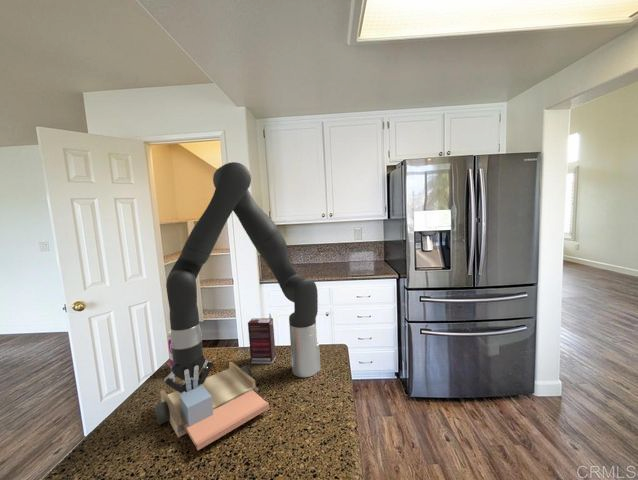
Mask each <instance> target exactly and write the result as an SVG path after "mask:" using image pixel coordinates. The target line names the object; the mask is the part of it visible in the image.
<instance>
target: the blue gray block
mask: <svg viewBox="0 0 638 480" xmlns="http://www.w3.org/2000/svg"><path fill="white" fill-rule="evenodd" d="M179 397H180V407H181V414H182V415H183V417H184V419H185V420H186V422H187V424H188V426H189V427H190V426H192V425H194V424H196V423H198V422H200V421H202V420H204V419H205V418H207V417H209V416H211V415H213V405H212V396H211V395H210V394H209V392H208V391H207V390H206V389H205V388H204V386H203V385H202V386H199V387H198V388H195V389H192V390H191V391H188V392H185V393H183V394H181V395H179Z"/></svg>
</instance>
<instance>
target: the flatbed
mask: <svg viewBox="0 0 638 480" xmlns="http://www.w3.org/2000/svg"><path fill="white" fill-rule="evenodd" d="M202 385H203V386H204V388H205V389H206V390H207V391H208V392H209V394H210V395H211V396H212V405H213V410H214V409H216V408H218V407H220V406H222V405H224V404H226V403H228V402H230V401H232V400H234V399H236V398H238V397H240V396H242V395H243V394H245V393H247V392H249V391H251V390H253V391H254V392H255V393H257V392H258V391H259V388H258V387H257V386H256V379H254V378H253V374H252V371H251V368H250V367H249V366H248V365H244V366H242V367H239V366H238V365H237V364H236V363H235V362H233V361H230V362H228V368H227V369H224V370H222V371H219V372H217V373H215V374H213V375H210V376H207V378H206V380H205V381H204V383H203V384H200V385H199V386H202ZM199 386H198V387H199ZM159 392H160V400H161V402H160V403H158V404H156V405H154V413H155V417H156V422H157V425H158V426H161V425H163V424H165V423H167V422H169V423H170V425H171V427H172V429H173V431H174V432H175V434H176V436H177V438H180V437H182V436H184V435H186V434H188V433H187V431H186V429H185V424H187V422H186V420H185V419H184V417H183V415H182V414H181V407H180V397H179V395H181V394H183V393H185V392H183V393H180V392H178V391H177V390H174V391H172V392H171V393H168V394H167V392H166V390H165V389H162V390H160V391H159Z"/></svg>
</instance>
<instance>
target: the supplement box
mask: <svg viewBox="0 0 638 480" xmlns="http://www.w3.org/2000/svg"><path fill="white" fill-rule="evenodd" d="M247 327H248V328H247V330H248V340H249V341H248V342H249V350H250V351H249V352H250V353H249V354H250V364H270V365H271V364H273V363H274V362H275V360H276V358H277V357H276V355H277V354H276V342H275V329H274V318H272V317H269V318H268V317H267V318H254V317H252V318H251V319H250V320H249V321H248V322H247Z"/></svg>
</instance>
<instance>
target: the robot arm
mask: <svg viewBox="0 0 638 480" xmlns="http://www.w3.org/2000/svg"><path fill="white" fill-rule="evenodd" d="M212 177H213V178H212V182H213V185H214V188H215V189H214V192H213V194H212V197H211V199H210V201H209V203H208V205H207V207H206V209H205V210H204V212H203V213H202V214H201V216H200V218H199V219H198V221H196V224H195V225H194V227H193V228H192V229H191V232H190V234H189V236H188V237H187V239H186V241H185V243H184V245H183V247H182V250H181V253H180V254H179V257H178V258H177V260H176V261H175V263H174V265H173V266H172V268H171V269H170V272H169V274H168V276H167V278H166V284H165V286H166V295H167V301H168V302H167V303H168V306H169V307H168V308H169V322H170V331H171V347H172V357H173V366H172V369H171V368H170V373H169V374H168V375H165V376H164V377H163V381H164V382H165V384H166V385H167V386H169V387H170V388H172V389H174V391H178V392H180V393H183V392H188V391H191V390H192V389H195V388H198V386H199V385H200V384H203V383H204V381H205V380H206V378H208V377H209V374H210V372H211V371H212V368H213V367H214V362H213V361H212V360H210V359H206V357H205V356H204V349H203V334H202V329H201V325H200V315H199V308H198V292H197V291H198V289H197V278H198V275H199V274H200V271H201V270H202V267H203V265H205V264H206V263H207V262H208V260H209V258H210V256H211V254H212V252H213V249H214V248H215V246H216V243H217V241H218V239H219V238H220V235H221V233H222V232H223V229H224V227H225V225H226V223H227V222H228V219H229V218H230V216H231V214H232V212H234V215H235V216H236V217H237V218H238V221H239V222H240V224H241V226H242V228H243V229H244V231H245V233H246V234H247V235H246V236H248V238H249V240H250V241H251V243H252V245H253V247H254V248H255V249H256V251H257V253H258V254H259V255H260V256H261V258H262V259H263V261H264V262H265V264H266V265H267V267H268V268H269V269H270V272H272V274H273V276H274V277H275V279H276V281H277V283H278V285H279V287H280V290H281V291H282V293H283V295H284V297H285V298H286V299H288V300H289V301H290V302H293V304H294V305H293V306H294V307H293V308H294V312H292V313H290V315H289V317H288V323H289V341H290V352H291V353H290V355H291V370H292V374H293V375H294V376H295V377H298V378H310V377H312V376H315V375H316V374H317V373H319V372H321V354H320V352H321V351H320V344H319V342H318V337H317V335H318V332H317V317H318V310H319V309H318V308H319V307H318V305H319V304H318V303H319V301H318V297H319V294H318V287H317V285H316V282H315V281H314V280H313V279H311V278H309V277H305V276H301V275H300V274H299V273H298V271H296V269H295V267H294V266H293V264H292V263H291V261H290V257H289V252H288V251H289V249H288V246H287V245H288V244H287V242H286V240H285V237H284V235H283V234H282V233H281V231H280V230H279V228H278V226H277V225H276V223H275V222H274V221H273V220H272V218H270V217H269V215H267V213H266V212H264V210H263V208H261V207H260V205H258V204H257V202H256V201H255V200H254V198H253V196H252V195H251V192H250V191H249V188H250V186H251V183H252V177H251V173H250V170H249V169H248V168H247V167H246V165H244V164H242V163H240V162H235V161H231V162H228V163H225V164H223V165H221V166H219V168H217V169H216V170H215V172H214V173H213V176H212ZM171 370H172V372H171ZM175 376H176V377H177V378H179V379H180V380H182V382H183V383H182V384H180V383H179V382H178V381H176V377H175Z"/></svg>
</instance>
